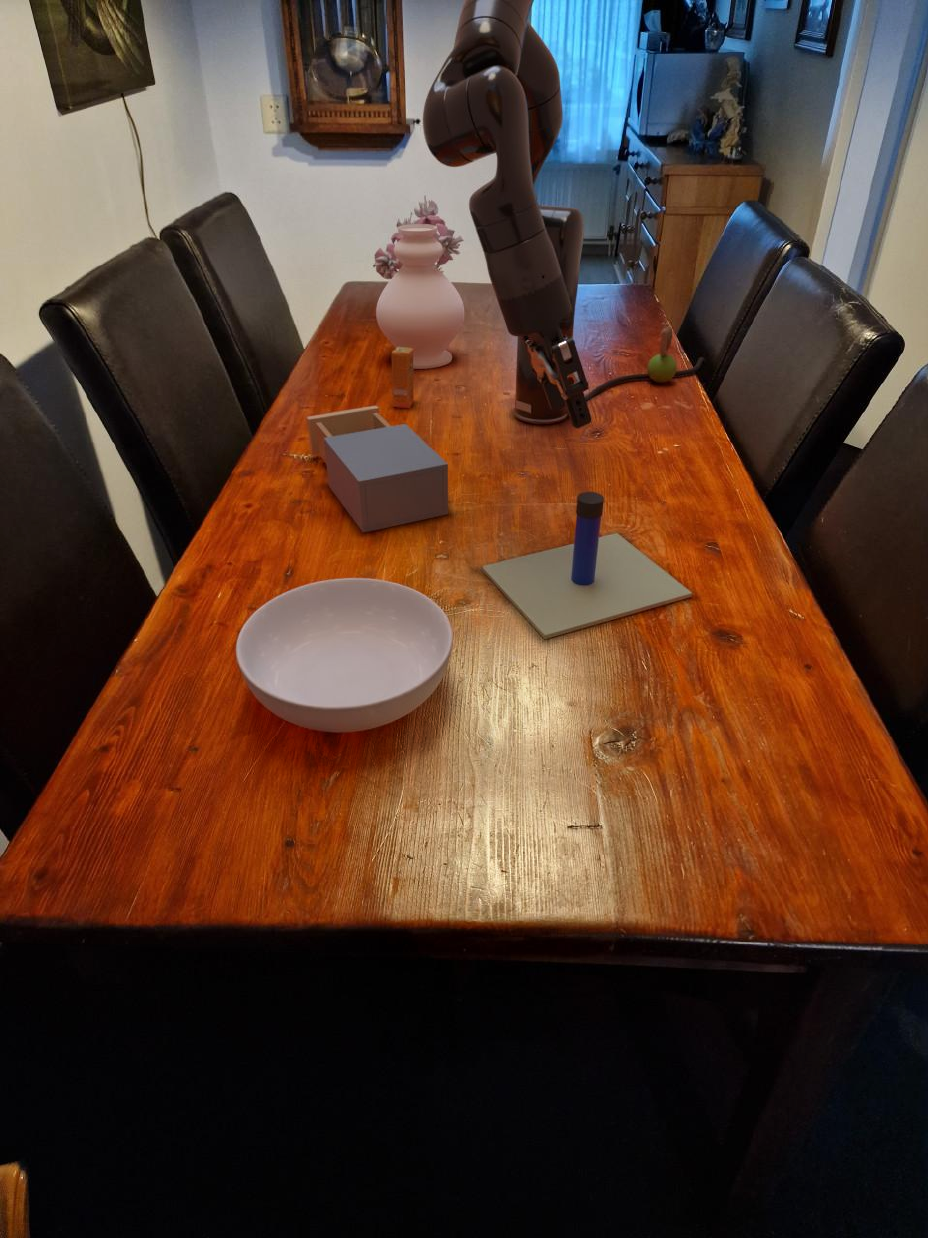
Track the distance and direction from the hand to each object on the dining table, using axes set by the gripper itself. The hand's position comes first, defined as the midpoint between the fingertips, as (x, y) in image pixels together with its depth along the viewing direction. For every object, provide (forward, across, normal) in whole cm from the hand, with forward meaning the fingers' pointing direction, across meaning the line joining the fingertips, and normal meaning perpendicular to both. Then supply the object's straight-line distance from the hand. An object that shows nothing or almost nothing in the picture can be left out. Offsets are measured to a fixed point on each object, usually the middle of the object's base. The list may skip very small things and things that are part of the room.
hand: (570, 416), depth 98 cm
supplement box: (+6, +55, +16) cm, 57 cm away
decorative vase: (+5, +80, +8) cm, 81 cm away
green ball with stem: (+22, +56, -31) cm, 68 cm away
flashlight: (+16, -8, +7) cm, 20 cm away
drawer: (+3, +32, +27) cm, 42 cm away
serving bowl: (+9, -22, +35) cm, 43 cm away
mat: (+17, -8, +7) cm, 20 cm away
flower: (+3, +114, +2) cm, 114 cm away
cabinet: (+7, +18, +25) cm, 32 cm away
